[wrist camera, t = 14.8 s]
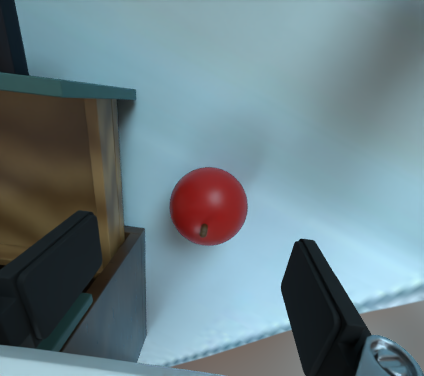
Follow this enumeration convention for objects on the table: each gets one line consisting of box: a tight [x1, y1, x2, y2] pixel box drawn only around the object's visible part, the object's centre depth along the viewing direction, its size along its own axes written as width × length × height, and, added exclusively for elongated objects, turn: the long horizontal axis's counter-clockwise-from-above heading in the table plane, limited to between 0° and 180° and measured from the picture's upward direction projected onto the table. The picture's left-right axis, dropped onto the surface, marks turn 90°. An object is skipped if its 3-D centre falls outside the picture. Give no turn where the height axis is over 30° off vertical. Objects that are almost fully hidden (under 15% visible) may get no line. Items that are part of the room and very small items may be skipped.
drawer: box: [0, 0, 136, 278], centre depth 14 cm, size 21×15×8 cm
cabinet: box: [0, 226, 146, 363], centre depth 16 cm, size 18×16×16 cm
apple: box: [170, 167, 248, 246], centre depth 16 cm, size 6×6×7 cm
